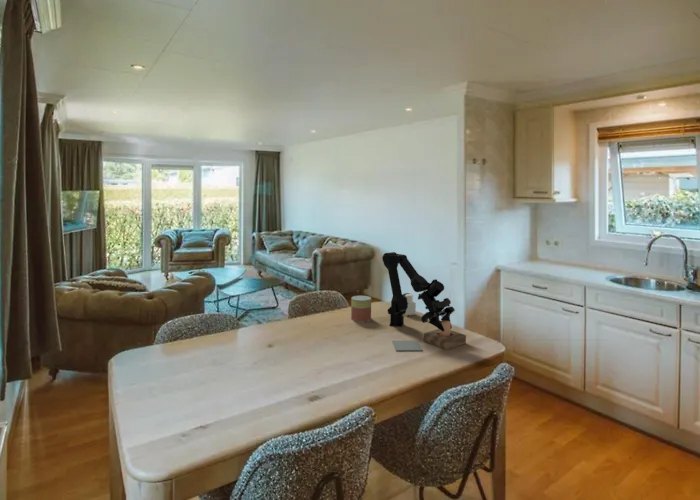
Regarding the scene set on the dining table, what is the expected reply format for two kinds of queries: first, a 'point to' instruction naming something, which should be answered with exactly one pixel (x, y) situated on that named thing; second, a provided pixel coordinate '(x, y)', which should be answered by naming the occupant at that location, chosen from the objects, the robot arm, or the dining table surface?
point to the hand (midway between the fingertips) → (447, 329)
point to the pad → (407, 345)
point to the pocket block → (444, 339)
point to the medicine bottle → (410, 305)
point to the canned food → (361, 308)
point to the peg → (445, 328)
